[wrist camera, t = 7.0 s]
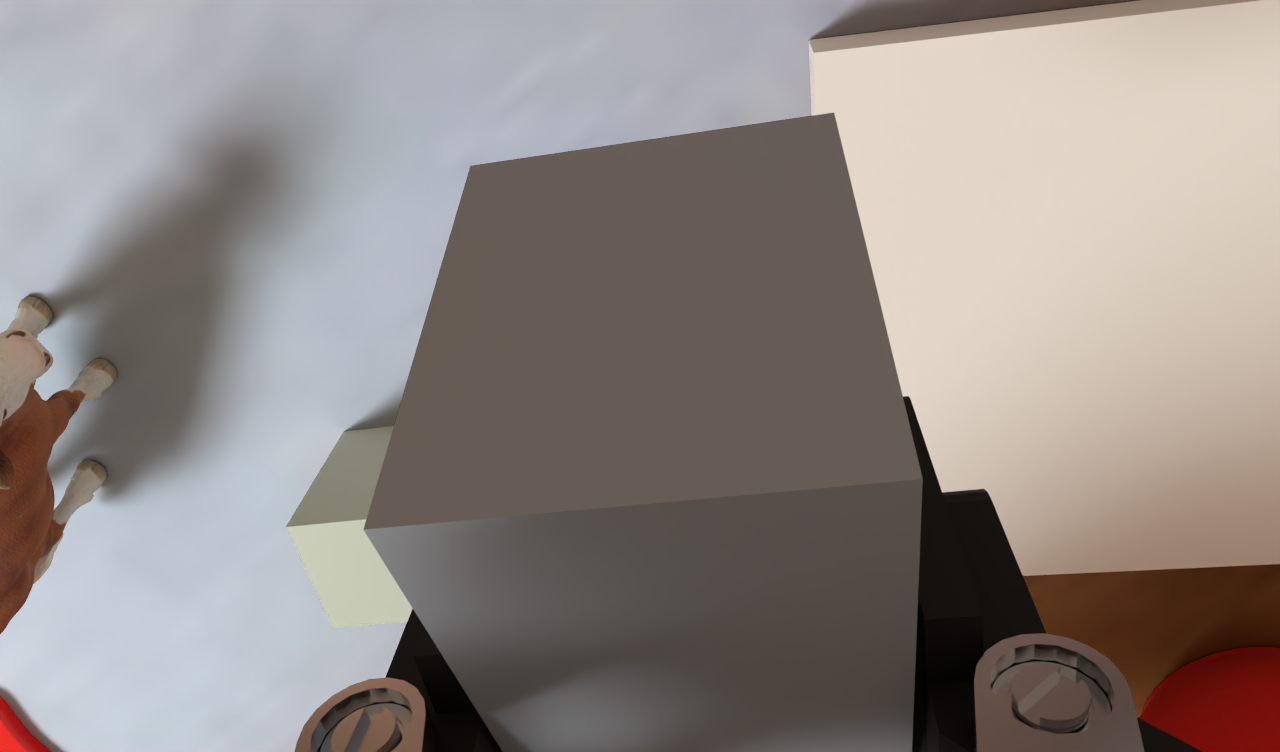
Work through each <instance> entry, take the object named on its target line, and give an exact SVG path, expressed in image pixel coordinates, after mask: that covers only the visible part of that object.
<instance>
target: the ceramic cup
mask: <svg viewBox="0 0 1280 752" xmlns="http://www.w3.org/2000/svg"><path fill="white" fill-rule="evenodd" d="M1139 718H1140V719H1141V720H1143V721H1145V722H1147V723H1149V724H1151V725H1153V726H1155V727H1157V728H1159V729H1161V730H1163V731H1164V732H1166V733H1168V734H1170V735H1172V736H1174V737H1176V738H1178V739H1180V740H1182V741H1184V742H1186V743H1187V744H1189V745H1191V746H1193V747H1195V748H1197V749H1199V750H1201V751H1203V752H1280V648H1277V647H1246V648H1236V649H1232V650H1227V651H1222V652H1218V653H1214V654H1212V655H1209V656H1206V657H1203V658H1200V659H1197V660H1195V661H1193V662H1191V663H1189V664H1187V665H1185V666H1183V667H1181V668H1180V669H1178V670H1177V671H1175V672H1174V673H1173V674H1171V675H1170V676H1168V677H1167V678H1166V679H1165V680H1164V681H1163V682H1161V683H1160V684H1159V685H1158V686H1157V687H1156V688H1155V689H1154V691H1153V692H1152V694H1151V695H1150V697H1149V698H1148V699H1147V701H1146V703H1145V706H1144V709H1143V711H1142V714H1141V716H1140V717H1139Z"/></svg>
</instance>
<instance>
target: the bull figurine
mask: <svg viewBox="0 0 1280 752" xmlns="http://www.w3.org/2000/svg"><path fill="white" fill-rule="evenodd" d="M51 321H52V313H51V310H50V308H49V307H48V306H47V304H45V303H44V302H43V301H42V300H40V299H38V298H36V297H25V298H24V299H22V300H21V302H20V304H19V306H18V309H17V312H16V314H15V318H14V320H13V321H12V323H11V324H10V326H9V327H8V329H7V330H6V331H4V332H3V333H1V334H0V634H1V633H2V632H3V631H4V629H5V628H6V626H7V625H8V623H9V621H10V620H11V619H12V618H13V616H14V615H15V614H16V613H17V612H18V611H19V610H20V609H21V607H22V606H23V604H24V603H25V601H26V599H27V597H28V595H29V593H30V591H31V588H32V585H33V584H34V583H35V582H36V581H37V580H38V579H40V578H41V576H42V575H43V574H44V573H45V571H46V570H47V569H48V568H49V566H50V564H51V562H52V559H53V555H54V552H55V550H56V549H57V546H58V544H59V543H60V541H61V539H62V537H63V530H64V528H65V525H66V523H67V521H68V520H69V518H70V517H71V515H72V514H73V513H74V512H75V511H76V510H77V509H78V508H79V507H80V506H82V505H84V504H86V503H88V502H90V501H91V500H92V498H93V493H94V492H95V491H96V490H97V489H98V488H99V487H100V485H101V484H102V483H103V482H105V480H106V479H107V473H106V470H105V468H104V467H103V466H102V465H100V464H98V463H96V462H94V461H91V460H86V461H83V462H81V463H80V464H79V465H78V467H77V470H76V471H75V473H74V475H73V476H72V478H71V480H70V483H69V485H68V487H67V489H66V491H65V494H64V496H63V498H62V501H61V502H60V503H59V505H58V506H57V507H56V508H55V510H54V511H53V509H54V489H53V485H52V482H51V479H50V476H49V473H48V470H47V462H48V460H49V457H50V454H51V451H52V447H53V444H54V443H55V442H56V440H57V439H58V437H59V436H60V435H61V434H62V433H63V432H64V430H65V429H66V427H67V425H68V422H69V420H70V418H71V417H72V416H73V415H74V413H75V412H76V411H77V409H78V407H79V405H80V403H82V402H84V401H87V400H96V399H99V398H100V397H101V393H102V392H103V391H104V390H105V389H107V388H108V387H109V386H110V385H111V384H112V383H113V382H114V381H115V380H116V378H117V371H116V369H115V367H114V366H113V365H112V364H111V363H110V362H108V361H107V360H105V359H95V360H93V361H91V362H90V363H89V364H88V365H87V366H86V367H85V369H83V370H82V371H81V372H80V374H79V376H78V378H77V379H76V380H75V382H74V383H73V384H72V385H71V386H70V388H69V389H66V390H62V391H59V392H56V393H55V394H53V395H52V396H51V397H50V398H49V399H48V400H47V401H44V400H42V399H41V397H40V395H39V394H38V392H37V391H36V390H34V385H35V382H36V379H37V378H38V377H40V376H42V375H43V374H44V373H45V372H46V371H47V370H48V369H49V368H50V367H51V366H52V363H53V357H52V355H51V354H50V353H49V351H48V350H47V349H46V348H45V347H44V346H43V345H42V344H41V343H40V342H39V341H38V340H37V339H36V338H37V337H38V334H39V333H41V332H42V331H43V329H44V328H45V327H46V325H47V324H49V323H50V322H51Z"/></svg>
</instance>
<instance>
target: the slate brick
mask: <svg viewBox="0 0 1280 752" xmlns="http://www.w3.org/2000/svg"><path fill="white" fill-rule="evenodd" d="M922 484H923V478H922V474H921V470H920V466H919V462H918V457H917V453H916V449H915V445H914V441H913V437H912V433H911V428H910V424H909V420H908V416H907V412H906V408H905V404H904V400H903V395H902V391H901V387H900V383H899V379H898V375H897V371H896V366H895V362H894V358H893V354H892V350H891V346H890V342H889V337H888V333H887V329H886V325H885V321H884V317H883V313H882V308H881V304H880V300H879V296H878V292H877V288H876V284H875V280H874V275H873V271H872V267H871V263H870V259H869V255H868V251H867V246H866V242H865V238H864V234H863V230H862V226H861V222H860V217H859V213H858V209H857V205H856V201H855V197H854V193H853V188H852V184H851V180H850V176H849V172H848V168H847V164H846V159H845V155H844V151H843V147H842V143H841V139H840V135H839V131H838V126H837V122H836V118H835V114H834V113H827V114H820V115H813V116H806V117H800V118H793V119H786V120H779V121H772V122H766V123H759V124H752V125H745V126H738V127H732V128H725V129H718V130H711V131H704V132H698V133H691V134H684V135H677V136H670V137H664V138H657V139H650V140H643V141H636V142H630V143H623V144H616V145H609V146H602V147H596V148H589V149H582V150H575V151H568V152H562V153H555V154H548V155H541V156H534V157H528V158H521V159H514V160H507V161H500V162H494V163H487V164H480V165H473V166H470V170H469V173H468V176H467V180H466V183H465V187H464V190H463V193H462V197H461V200H460V204H459V207H458V210H457V214H456V217H455V220H454V224H453V227H452V231H451V234H450V237H449V241H448V244H447V248H446V251H445V254H444V258H443V261H442V265H441V268H440V271H439V275H438V278H437V282H436V285H435V288H434V292H433V295H432V298H431V302H430V305H429V309H428V312H427V315H426V319H425V322H424V326H423V329H422V332H421V336H420V339H419V343H418V346H417V349H416V353H415V356H414V359H413V363H412V366H411V370H410V373H409V376H408V380H407V383H406V387H405V390H404V393H403V397H402V400H401V404H400V407H399V410H398V414H397V417H396V421H395V424H394V427H393V431H392V434H391V437H390V441H389V444H388V448H387V451H386V454H385V458H384V461H383V465H382V468H381V471H380V475H379V478H378V482H377V485H376V488H375V492H374V495H373V499H372V502H371V505H370V509H369V512H368V515H367V519H366V522H365V526H364V529H363V530H364V532H365V533H366V535H367V536H368V538H369V540H370V541H371V543H372V544H373V546H374V548H375V549H376V551H377V552H378V554H379V556H380V557H381V559H382V560H383V562H384V563H385V565H386V567H387V568H388V570H389V571H390V573H391V575H392V576H393V578H394V579H395V581H396V583H397V584H398V586H399V587H400V589H401V591H402V592H403V594H404V595H405V597H406V599H407V600H408V602H409V603H410V605H411V606H412V608H413V610H414V611H415V613H416V614H417V616H418V618H419V619H420V621H421V622H422V624H423V626H424V627H425V629H426V630H427V632H428V634H429V635H430V637H431V638H432V640H433V642H434V643H435V645H436V646H437V648H438V649H439V651H440V653H441V654H442V656H443V657H444V659H445V661H446V662H447V664H448V665H449V667H450V669H451V670H452V672H453V673H454V675H455V677H456V678H457V680H458V681H459V683H460V685H461V686H462V688H463V689H464V691H465V692H466V694H467V696H468V697H469V699H470V700H471V702H472V704H473V705H474V707H475V708H476V710H477V712H478V713H479V715H480V716H481V718H482V720H483V721H484V723H485V724H486V726H487V728H488V729H489V731H490V732H491V734H492V735H493V737H494V739H495V740H496V742H497V743H498V745H499V747H500V748H501V750H502V751H503V752H912V738H913V713H914V688H915V662H916V637H917V611H918V586H919V560H920V535H921V509H922Z"/></svg>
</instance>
